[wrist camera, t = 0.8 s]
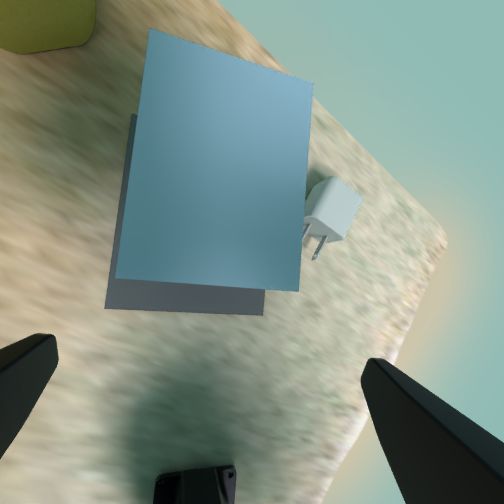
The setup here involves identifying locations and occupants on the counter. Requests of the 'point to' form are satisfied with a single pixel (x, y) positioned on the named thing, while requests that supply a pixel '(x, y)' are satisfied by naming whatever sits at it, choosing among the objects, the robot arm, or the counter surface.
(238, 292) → the mat
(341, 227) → the usb wall charger
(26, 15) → the flower pot
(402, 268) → the counter surface
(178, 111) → the light blue rectangular block
